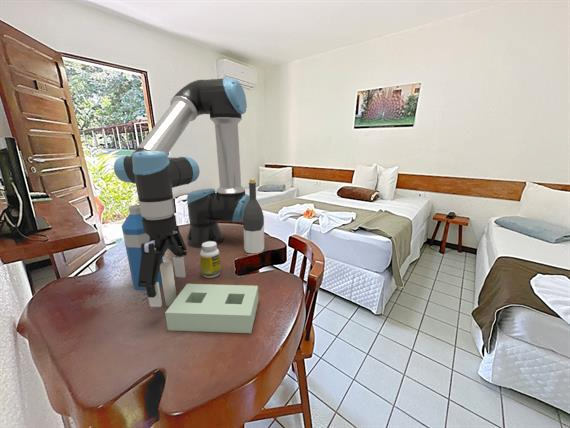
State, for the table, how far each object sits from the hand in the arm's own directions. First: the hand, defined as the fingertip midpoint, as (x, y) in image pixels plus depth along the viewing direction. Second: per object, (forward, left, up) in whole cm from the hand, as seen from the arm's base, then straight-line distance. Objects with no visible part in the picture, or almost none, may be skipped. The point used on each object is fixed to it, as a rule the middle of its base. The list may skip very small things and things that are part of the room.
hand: (169, 289), depth 66 cm
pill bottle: (-16, +6, -4) cm, 18 cm away
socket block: (+4, +14, -4) cm, 15 cm away
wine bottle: (-33, +18, -4) cm, 38 cm away
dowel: (0, 0, -4) cm, 4 cm away
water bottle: (-10, -12, -4) cm, 16 cm away
